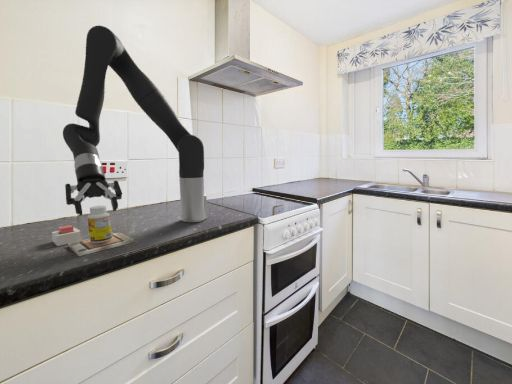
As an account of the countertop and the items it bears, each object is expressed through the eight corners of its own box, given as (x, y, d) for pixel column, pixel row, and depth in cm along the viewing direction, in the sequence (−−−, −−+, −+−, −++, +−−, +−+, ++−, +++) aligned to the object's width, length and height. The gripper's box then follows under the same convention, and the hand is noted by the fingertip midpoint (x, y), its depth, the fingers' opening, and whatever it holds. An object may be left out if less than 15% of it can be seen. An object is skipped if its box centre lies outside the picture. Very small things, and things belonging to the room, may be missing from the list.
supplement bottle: (90, 240, 75) (87, 206, 74) (112, 236, 78) (108, 204, 76) (89, 245, 70) (85, 209, 69) (112, 241, 73) (109, 207, 72)
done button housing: (76, 236, 81) (75, 227, 81) (81, 240, 77) (80, 231, 77) (52, 241, 77) (51, 232, 76) (57, 246, 73) (56, 236, 72)
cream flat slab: (119, 234, 83) (119, 231, 83) (134, 242, 76) (133, 239, 76) (68, 246, 72) (67, 243, 72) (79, 256, 65) (78, 252, 65)
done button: (71, 232, 79) (70, 224, 78) (73, 234, 77) (72, 226, 76) (59, 235, 76) (58, 227, 76) (61, 237, 74) (60, 228, 74)
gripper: (60, 163, 74) (67, 207, 67) (115, 161, 83) (126, 200, 76) (62, 180, 79) (69, 223, 72) (113, 176, 88) (124, 214, 81)
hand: (98, 211), depth 74 cm, fingers open, 8 cm apart
